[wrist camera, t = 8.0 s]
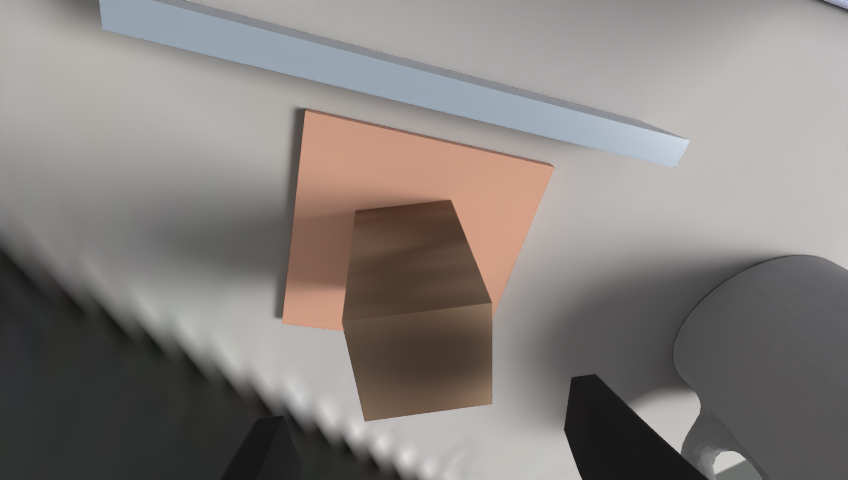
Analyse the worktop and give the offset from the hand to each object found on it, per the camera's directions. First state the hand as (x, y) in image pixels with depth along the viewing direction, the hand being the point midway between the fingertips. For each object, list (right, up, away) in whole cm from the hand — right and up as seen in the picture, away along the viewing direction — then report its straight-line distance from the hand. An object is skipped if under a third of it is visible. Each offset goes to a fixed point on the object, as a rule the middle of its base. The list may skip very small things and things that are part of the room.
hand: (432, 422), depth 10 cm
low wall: (0, +11, +5) cm, 11 cm away
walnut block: (-1, +4, +8) cm, 9 cm away
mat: (-1, +4, +8) cm, 9 cm away
